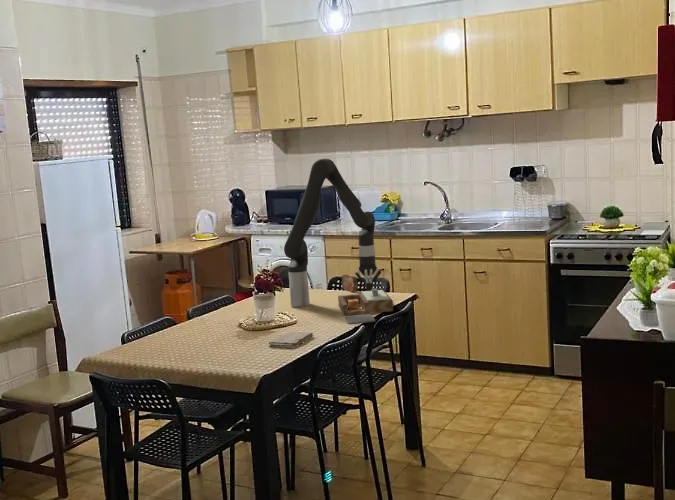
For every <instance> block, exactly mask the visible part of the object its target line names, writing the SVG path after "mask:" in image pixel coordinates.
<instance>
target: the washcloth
mask: <svg viewBox="0 0 675 500" xmlns="http://www.w3.org/2000/svg"><path fill="white" fill-rule="evenodd" d="M313 337H314V334H313V332H305V331H304V332H294V331H293V332H291V331H289V332H285V333H284V334H281V335H279V336H278V337H276V338H274V339H272V340H270V341H269V342H268V345H269V346H268V347H269V348H273V347H274V349H287V348H292V349H295V348H297V347H298V346H297V345H299V346H300V344H301V343H302V344H304V343H306V342H307V341H309V340H311V339H312V338H313ZM305 341H306V342H305ZM303 342H304V343H303ZM302 344H301V345H302ZM296 346H297V347H296ZM294 347H295V348H294Z"/></svg>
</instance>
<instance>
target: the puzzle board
mask: <svg viewBox="0 0 675 500" xmlns="http://www.w3.org/2000/svg"><path fill="white" fill-rule="evenodd" d="M383 291H384V290H383ZM384 293H385V294H386V295H387V296H388V297H389V300H379V301H369V302H368V301H367V300H366V298H365V297H364V296H363V294H362V293H354V294H344V295H338V296H337V300H338V307H339V310H340V311H341V312H342V313H341V314H342V315H343V316H344V317H347V316H357V315H368V314H375V313H384V312H385V313H386V312H394V302H393V301H394V300H393V299H392V298H391V297H390V296H389V294H388V293H387V292H386V291H384ZM352 299H358V301H359V307H360V308H361V307H362V308H361V309H359V310H351V311H349V309H348V300H352Z"/></svg>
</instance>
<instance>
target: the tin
mask: <svg viewBox="0 0 675 500" xmlns="http://www.w3.org/2000/svg"><path fill="white" fill-rule="evenodd" d="M341 286H342V289H343V290H344V291H347V292H350V293H352V292H356V291H357V290H358V278H357V276H356V275H352V274H343V275H342V276H341Z"/></svg>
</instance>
